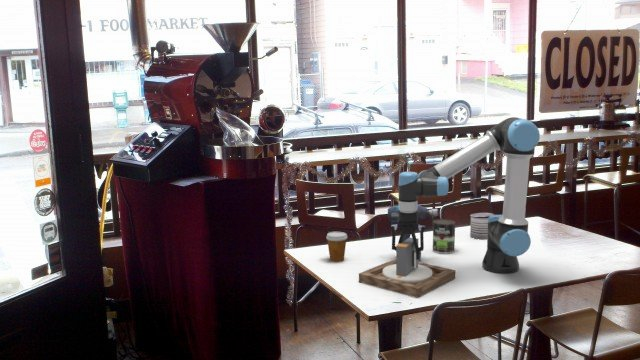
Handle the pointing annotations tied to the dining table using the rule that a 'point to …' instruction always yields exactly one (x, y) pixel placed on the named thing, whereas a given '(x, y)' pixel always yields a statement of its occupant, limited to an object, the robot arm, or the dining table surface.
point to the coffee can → (443, 236)
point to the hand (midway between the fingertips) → (407, 266)
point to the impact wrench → (421, 214)
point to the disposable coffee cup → (336, 245)
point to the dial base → (415, 290)
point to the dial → (407, 265)
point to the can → (479, 225)
